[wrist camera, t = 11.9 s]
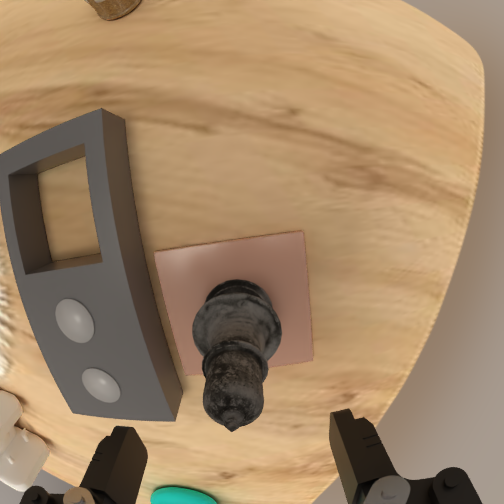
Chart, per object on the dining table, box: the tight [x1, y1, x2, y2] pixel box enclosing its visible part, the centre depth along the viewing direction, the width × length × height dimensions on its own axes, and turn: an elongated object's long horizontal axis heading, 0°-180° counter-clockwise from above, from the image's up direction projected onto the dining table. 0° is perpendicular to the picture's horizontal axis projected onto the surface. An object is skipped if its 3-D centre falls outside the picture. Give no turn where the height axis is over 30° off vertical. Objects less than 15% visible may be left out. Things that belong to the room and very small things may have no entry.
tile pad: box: [154, 230, 313, 375], centre depth 22 cm, size 11×11×1 cm
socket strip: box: [0, 108, 183, 421], centre depth 20 cm, size 24×11×4 cm, turn 8°
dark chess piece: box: [192, 279, 282, 432], centre depth 16 cm, size 6×6×12 cm
